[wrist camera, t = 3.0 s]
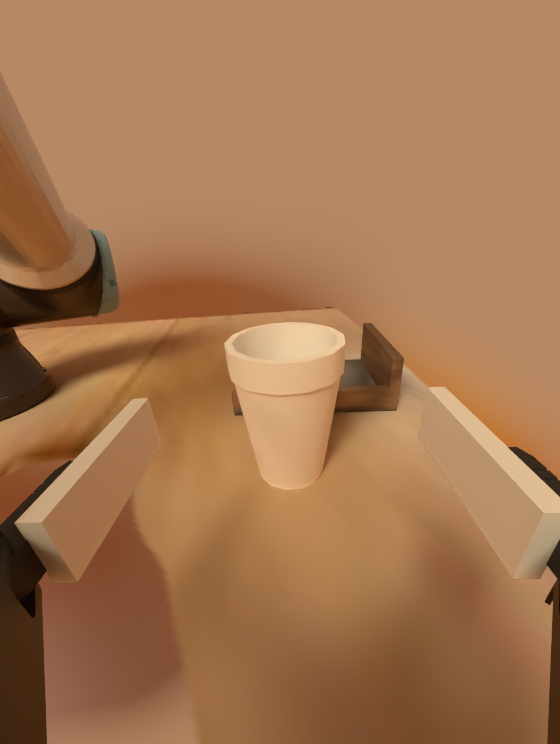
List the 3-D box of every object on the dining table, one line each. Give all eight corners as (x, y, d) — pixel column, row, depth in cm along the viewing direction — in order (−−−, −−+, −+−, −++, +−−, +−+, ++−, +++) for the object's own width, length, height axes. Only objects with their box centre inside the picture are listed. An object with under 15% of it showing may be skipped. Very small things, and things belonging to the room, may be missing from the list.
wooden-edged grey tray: (234, 415, 36) (227, 365, 33) (248, 367, 49) (244, 328, 46) (396, 410, 36) (404, 358, 33) (367, 363, 48) (371, 323, 45)
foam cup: (308, 524, 22) (305, 375, 17) (222, 477, 27) (198, 349, 22) (353, 452, 29) (363, 329, 24) (279, 425, 34) (272, 317, 29)
